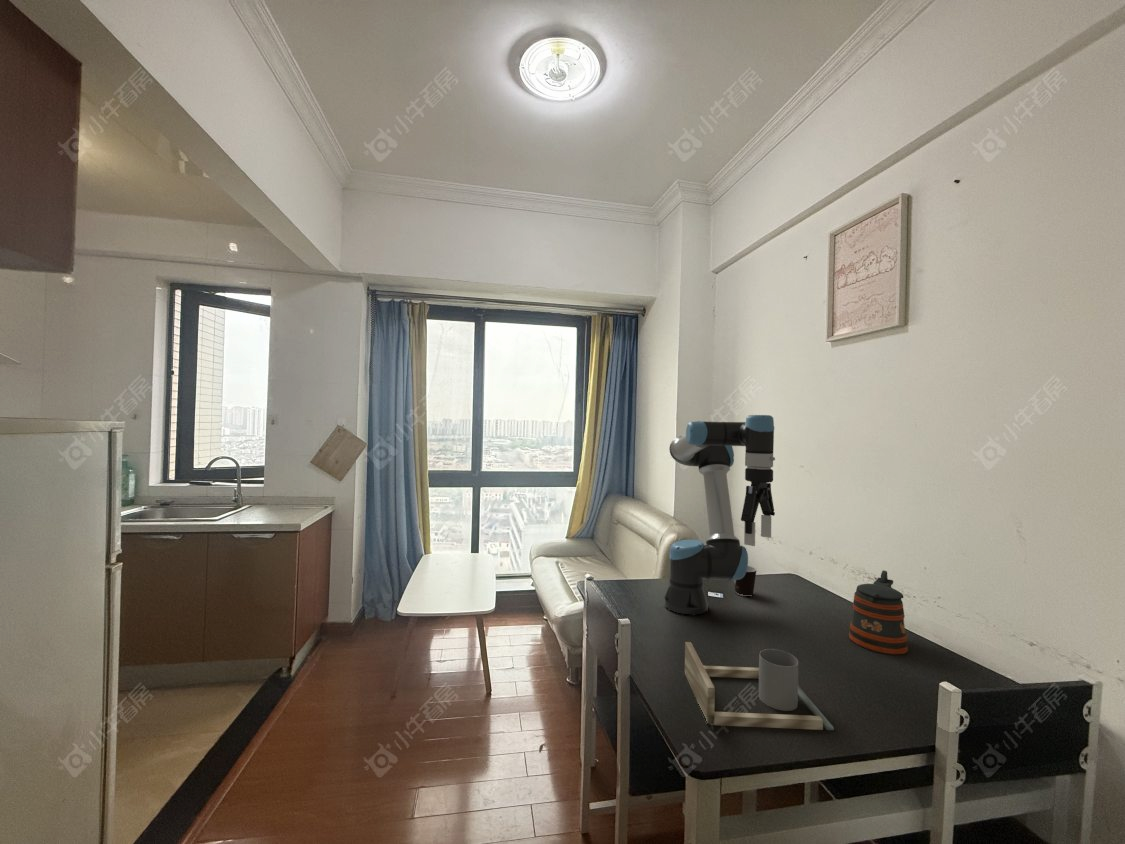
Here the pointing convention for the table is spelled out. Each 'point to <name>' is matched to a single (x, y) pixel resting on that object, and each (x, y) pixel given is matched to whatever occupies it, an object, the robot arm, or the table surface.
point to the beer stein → (879, 618)
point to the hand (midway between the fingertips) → (758, 541)
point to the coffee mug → (746, 582)
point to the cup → (778, 679)
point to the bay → (706, 701)
